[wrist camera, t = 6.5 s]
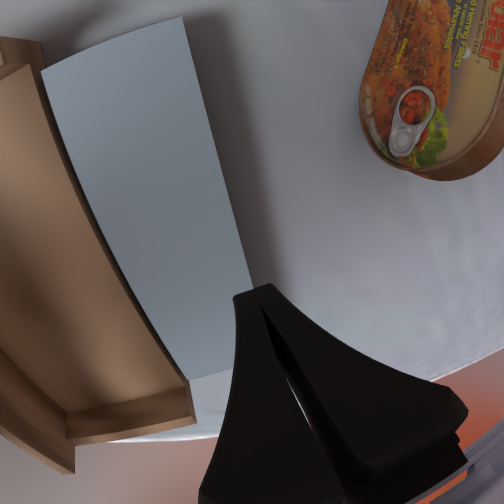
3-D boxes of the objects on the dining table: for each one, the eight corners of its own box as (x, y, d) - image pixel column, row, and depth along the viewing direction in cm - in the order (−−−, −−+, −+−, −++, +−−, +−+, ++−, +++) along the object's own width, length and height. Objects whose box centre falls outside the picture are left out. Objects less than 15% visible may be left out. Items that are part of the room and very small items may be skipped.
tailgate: (187, 380, 21) (272, 355, 21) (40, 71, 9) (181, 16, 10) (185, 362, 22) (265, 338, 22) (53, 70, 10) (180, 22, 11)
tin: (407, -62, 10) (514, -79, 3) (441, -34, 11) (546, -36, 4) (338, 139, 17) (449, 200, 10) (378, 156, 18) (485, 219, 11)
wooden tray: (66, 402, 22) (63, 474, 16) (-101, 151, 8) (-172, 201, 3) (187, 373, 23) (203, 454, 17) (39, 42, 10) (-40, 33, 4)
